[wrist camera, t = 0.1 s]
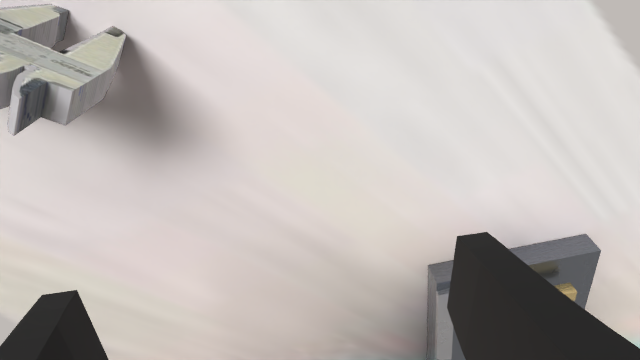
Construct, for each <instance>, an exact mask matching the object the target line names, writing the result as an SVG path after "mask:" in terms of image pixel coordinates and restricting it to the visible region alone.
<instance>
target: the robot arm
mask: <svg viewBox="0 0 640 360" xmlns="http://www.w3.org/2000/svg"><path fill="white" fill-rule="evenodd" d="M447 309H448V312H449V315H450V318H451V321H452V324H453V327H454V330H455V333H456V336H457V338H458V341H459V344H460V347H461V349H462V352H463V355H464V357H465V359H466V360H640V349H639V348H638V347H637V346H635V345H634V344H632V343H631V342H629V341H628V340H626V339H625V338H624V337H622V336H621V335H619V334H618V333H616V332H615V331H613V330H612V329H611V328H609V327H608V326H606V325H605V324H604V323H602V322H601V321H599V320H598V319H597V318H595V317H594V316H593V315H591V314H590V313H589V312H587V311H586V310H584V309H583V308H582V307H581V306H579V305H578V304H577V303H575V302H574V301H573V300H571V299H570V298H569V297H567V296H566V295H565V294H563V293H562V292H561V291H560V290H558V289H557V288H556V287H555V286H553V285H552V284H551V283H549V282H548V281H547V280H546V279H544V278H543V277H542V276H541V275H539V274H538V273H537V272H536V271H534V270H533V269H532V268H531V267H529V266H528V265H527V264H526V263H525V262H523V261H522V260H521V259H520V258H518V257H517V256H516V255H515V254H513V253H512V252H511V251H510V250H509V249H507V248H506V247H505V246H504V245H502V244H501V243H500V242H499V241H497V240H496V239H495V238H494V237H492V236H491V235H490V234H489V233H487V232H484V233H477V234H470V235H463V236H457V241H456V248H455V255H454V261H453V268H452V275H451V282H450V289H449V296H448V303H447ZM0 360H108V358H107V355H106V353H105V351H104V349H103V347H102V344H101V342H100V340H99V338H98V336H97V333H96V331H95V329H94V327H93V325H92V322H91V320H90V318H89V316H88V314H87V311H86V309H85V307H84V305H83V303H82V300H81V298H80V296H79V294H78V292H77V290H74V291H67V292H60V293H53V294H46V295H42V296H41V297H40V298H39V299H38V301H37V302H36V303H35V304H34V305H33V307H32V308H31V309H30V310H29V311H28V313H27V314H26V315H25V316H24V317H23V319H22V320H21V321H20V322H19V324H18V325H17V326H16V327H15V329H14V330H13V331H12V332H11V334H10V335H9V336H8V337H7V339H6V340H5V341H4V342H3V343H2V345H1V346H0Z"/></svg>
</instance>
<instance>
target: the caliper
mask: <svg viewBox="0 0 640 360" xmlns="http://www.w3.org/2000/svg"><path fill="white" fill-rule="evenodd" d="M68 13H69V10H66V9H63V8H60V7H57V6H55V5H52V4H44V5H31V6H17V7H4V8H0V109H2V108H5V107H8V106H10V109H9V116H8V122H7V125H8V132H9V133H10V134H12V135H13V136H14V135H16V134H17V133H19V132H20V131H22V130H23V129H24V128H26V127H27V126H29V125H30V124H32V123H33V122H34V121H36V120H37V119H39V118H40V117H42V118H45V119H48V120H51V121H54V122H57V123H59V124H62V125H67V124H68V123H70V122H71V121H72V120H74V119H75V118H77V117H78V116H80V115H81V114H83V113H84V112H86V111H87V110H88V109H90V108H91V107H93V106H94V105H96V104H97V103H98V102H100V101H101V100H103V99H104V97H105V95H106V92H107V90H108V88H109V86H110V84H111V82H112V79H113V77H114V75H115V73H116V70H117V68H118V65H119V61H120V57H121V53H122V50H123V46H124V42H125V38H126V34H124V33H123V32H122V31H121V30H119V29H117V28H115V27H113V26H112V27H110V28H108V29H106V30H104V31H103V32H101V33H99V34H96V35H94V36H92V37H90V38H88V39H86V40H84V41H81V42H79V43H77V44H75V45H73V46H71V47H69V48H67V49H64V50H62V51H60V52H58V51H56V50H53V49H51V47H53V46H55V43H56V42H59V41H61V40H63V39H64V34H65V28H66V23H67V18H68Z"/></svg>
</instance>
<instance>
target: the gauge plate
mask: <svg viewBox="0 0 640 360" xmlns="http://www.w3.org/2000/svg"><path fill="white" fill-rule="evenodd" d="M509 250H510V251H511V252H512V253H513V254H515V255H516V256H517V257H518V258H520V259H521V260H522V261H523V262H525V263H526V264H527V265H528V266H529V267H531V268H532V269H533V270H534V271H536V272H537V273H538V274H539V275H541V276H542V277H543V278H544V279H546V280H547V281H548V282H549V283H551V284H552V285H553V286H555V285H560V284H565V283H571V284H572V285H573V287H574V288H575V289H576V291H577V295H576V299H575V301H574V302H575V303H577V304H578V305H579V306H581V307H582V308H583V309H585V305H586V302H587V298H588V295H589V291H590V288H591V284H592V281H593V277H594V273H595V270H596V266H597V263H598V259H599V256H600V252H601V250H600V249H599V248H598V247H597V246H596V244H595V243H594V242H593V241H592V240H591V239H590V238H589V237H588V235H587V234H584V235H579V236H574V237H569V238H564V239H559V240H554V241H549V242H544V243H539V244H533V245H528V246H523V247H518V248H513V249H509ZM453 261H454V260H453ZM453 261H448V262H443V263H438V264H433V265H428V317H427V360H466V359H465V357H464V355H463V352H462V349H461V347H460V344H459V341H458V338H457V336H456V333H455V330H454V327H453V324H452V321H451V318H450V315H449V312H448V309H447V303H448V296H449V289H450V282H451V275H452V268H453Z"/></svg>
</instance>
